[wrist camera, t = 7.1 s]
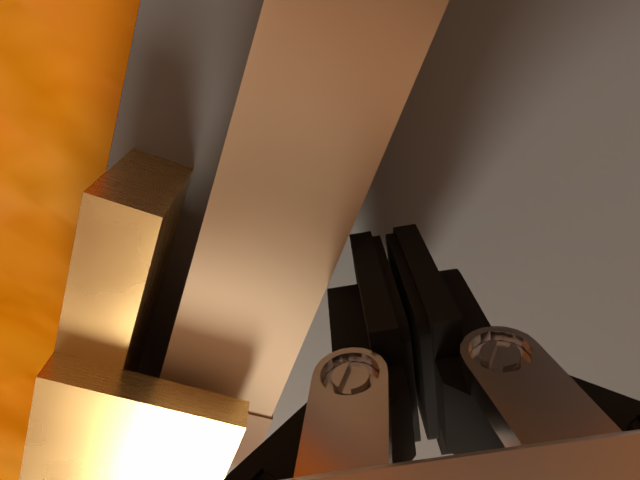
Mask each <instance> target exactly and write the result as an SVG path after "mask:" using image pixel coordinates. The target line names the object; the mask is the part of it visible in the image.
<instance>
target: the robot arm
mask: <svg viewBox="0 0 640 480" xmlns="http://www.w3.org/2000/svg"><path fill="white" fill-rule="evenodd" d="M349 236H350V243H351V249H352V256H353V262H354V269H355V275H356V282H357V284H354V285H348V286H341V287H335V288H329V289H327V295H328V308H329V320H330V332H331V344H332V353H330V354H328V355H327V356H325V357H324V358H322V359H321V360H320V361H319V363H318V364H317V365H316V366H315V369H314V371H313V374H312V378H311V384H310V389H309V395H308V400H307V403H305V404H304V405H303V406H302V407H301V408H300V409H299V410H298V411H297V412H296V413H295V414H293V415H292V416H291V417H290V418H289V419H288V420H287V421H286V422H285V423H284V424H282V425H281V426H280V427H279V428H278V429H277V430H276V431H275V432H274V433H273V434H272V435H270V436H269V437H268V438H267V439H266V440H265V441H264V442H263V443H262V444H261V445H259V446H258V447H257V448H256V449H255V450H254V451H253V452H252V453H251V454H250V455H249V456H247V457H246V458H245V459H244V460H243V461H242V462H241V463H240V464H239V465H238V466H236V467H235V468H234V469H233V470H232V471H231V472H230V473H229V474H228V475H227V476H226V477H225V479H224V480H640V401H639V400H636V399H633V398H631V397H628V396H625V395H622V394H620V393H617V392H614V391H612V390H609V389H606V388H603V387H601V386H598V385H595V384H592V383H590V382H587V381H584V380H582V379H579V378H576V377H573V376H571V375H568V374H567V373H566V372H565V370H564V369H563V368H562V367H561V366H560V365H559V364H558V363H557V362H556V361H555V360H554V359H553V358H552V357H551V356H550V355H549V354H548V353H547V352H546V351H545V349H544V348H543V347H542V346H541V345H540V344H539V343H538V342H537V341H536V340H535V339H533V338H532V337H531V336H529V335H528V334H526V333H524V332H522V331H520V330H517V329H513V328H509V327H504V326H491V325H490V323H489V321H488V320H487V318H486V316H485V314H484V313H483V311H482V309H481V307H480V306H479V304H478V302H477V300H476V299H475V297H474V295H473V294H472V292H471V290H470V288H469V287H468V285H467V283H466V281H465V280H464V278H463V276H462V274H461V273H460V271H459V270H458V269H449V270H443V271H439V270H438V268H437V266H436V264H435V262H434V260H433V258H432V256H431V254H430V252H429V250H428V248H427V246H426V244H425V242H424V240H423V238H422V236H421V234H420V232H419V230H418V228H417V226H416V224H411V225H405V226H398V227H393V233H391V234H386V246H387V254H388V258H387V255H386V252H385V249H384V246H383V243H382V240H381V237H380V235H378V236H372V234H371V231H368V232H362V233H355V234H349ZM418 408H419V412H420V415H421V419H422V422H423V426H424V430H425V433H426V436H427V439H428V440H432V439H437V442H438V445H439V448H440V452H441V455H446V454H454V455H448V456H441V457H434V458H427V459H420V460H413V459H414V457H415V456H416V447H415V442H418V441H421V434H420V424H419V414H418ZM412 460H413V461H412Z"/></svg>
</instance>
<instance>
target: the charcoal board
mask: <svg viewBox="0 0 640 480" xmlns="http://www.w3.org/2000/svg"><path fill="white" fill-rule="evenodd" d="M263 2H264V0H140V5H139V10H138V15H137V20H136V25H135V30H134V35H133V40H132V45H131V50H130V55H129V60H128V65H127V70H126V75H125V80H124V85H123V90H122V95H121V100H120V105H119V110H118V115H117V120H116V125H115V130H114V135H113V140H112V145H111V150H110V155H109V160H108V165H107V170H106V171H108V170H109V169H110V168H111V167H112V166H113V165H114V164H116V163H117V162H118V161H119V160H120V159H121V158H122V157H123V156H125V155H126V154H127V153H128V152H129V151H130V150H131V149H133V148H135V149H138V150H141V151H144V152H147V153H150V154H153V155H156V156H159V157H161V158H164V159H167V160H170V161H173V162H176V163H179V164H182V165H185V166H188V167H191V168H194V170H193V174H192V177H191V181H190V184H189V188H188V191H187V195H186V199H185V202H184V206H183V209H182V213H181V216H180V220H179V223H178V227H177V230H176V234H175V238H174V241H173V245H172V248H171V252H170V255H169V259H168V262H167V266H166V270H165V273H164V277H163V280H162V284H161V287H160V291H159V294H158V298H157V301H156V305H155V309H154V312H153V316H152V319H151V323H150V326H149V330H148V333H147V337H146V340H145V344H144V348H143V351H142V355H141V358H140V362H139V365H138V369H137V372H136V373H140V374H144V375H148V376H152V377H156V378H159V376H160V373H161V370H162V367H163V364H164V360H165V356H166V353H167V349H168V345H169V342H170V338H171V335H172V331H173V327H174V324H175V320H176V317H177V313H178V309H179V306H180V302H181V298H182V295H183V291H184V288H185V284H186V280H187V277H188V273H189V270H190V266H191V262H192V259H193V255H194V252H195V248H196V244H197V241H198V237H199V233H200V230H201V226H202V223H203V219H204V215H205V212H206V208H207V205H208V201H209V197H210V194H211V190H212V186H213V183H214V179H215V176H216V172H217V168H218V165H219V161H220V158H221V154H222V150H223V147H224V143H225V140H226V136H227V132H228V129H229V125H230V121H231V118H232V114H233V111H234V107H235V103H236V100H237V96H238V93H239V89H240V85H241V82H242V78H243V74H244V71H245V67H246V64H247V60H248V56H249V53H250V49H251V46H252V42H253V38H254V35H255V31H256V27H257V24H258V20H259V17H260V13H261V9H262V6H263ZM411 224H416V226H417V228H418V230H419V232H420V234H421V236H422V238H423V240H424V242H425V244H426V246H427V248H428V250H429V252H430V254H431V256H432V258H433V260H434V262H435V264H436V266H437V268H438V270H439V271H443V270H449V269H458V270H459V271H460V273H461V274H462V276H463V278H464V280H465V281H466V283H467V285H468V287H469V288H470V290H471V292H472V294H473V295H474V297H475V299H476V300H477V302H478V304H479V306H480V307H481V309H482V311H483V313H484V314H485V316H486V318H487V320H488V321H489V323H490V325H491V326H504V327H509V328H513V329H517V330H520V331H522V332H524V333H526V334H528V335H529V336H531V337H532V338H533V339H535V340H536V341H537V342H538V343H539V344H540V345H541V346H542V347H543V348H544V349H545V351H546V352H547V353H548V354H549V355H550V356H551V357H552V358H553V359H554V360H555V361H556V362H557V363H558V364H559V365H560V366H561V367H562V368H563V369H564V370H565V372H566V373H567V374H568V375H571V376H573V377H576V378H579V379H582V380H584V381H587V382H590V383H592V384H595V385H598V386H601V387H603V388H606V389H609V390H612V391H614V392H617V393H620V394H622V395H625V396H628V397H631V398H633V399H636V400H639V401H640V0H449V2H448V5H447V7H446V9H445V12H444V14H443V16H442V19H441V21H440V23H439V26H438V28H437V30H436V33H435V35H434V37H433V40H432V42H431V45H430V47H429V49H428V52H427V54H426V56H425V59H424V61H423V63H422V66H421V68H420V70H419V73H418V75H417V77H416V80H415V82H414V84H413V87H412V89H411V91H410V94H409V96H408V98H407V101H406V103H405V105H404V108H403V110H402V112H401V115H400V117H399V119H398V122H397V124H396V126H395V129H394V131H393V133H392V136H391V138H390V140H389V143H388V145H387V148H386V150H385V152H384V155H383V157H382V159H381V162H380V164H379V166H378V169H377V171H376V173H375V176H374V178H373V180H372V183H371V185H370V187H369V190H368V192H367V194H366V197H365V199H364V201H363V204H362V206H361V208H360V211H359V213H358V215H357V218H356V220H355V222H354V225H353V227H352V229H351V232H350V234H355V233H362V232H368V231H371V234H372V236H378V235H380V237H381V240H382V243H383V246H384V249H385V252H386V255H387V258H388V254H387V246H386V234H391V233H393V227H398V226H405V225H411ZM354 284H357V282H356V275H355V269H354V262H353V256H352V249H351V243H350V236H348V239H347V241H346V243H345V246H344V248H343V251H342V253H341V255H340V258H339V260H338V262H337V265H336V267H335V269H334V272H333V274H332V276H331V279H330V281H329V283H328V286H327V288H326V290H325V293H324V295H323V297H322V300H321V302H320V304H319V307H318V309H317V311H316V314H315V316H314V318H313V321H312V323H311V325H310V328H309V330H308V332H307V335H306V337H305V339H304V342H303V344H302V346H301V349H300V351H299V354H298V356H297V358H296V361H295V363H294V365H293V368H292V370H291V372H290V375H289V377H288V379H287V382H286V384H285V386H284V389H283V391H282V393H281V396H280V398H279V400H278V403H277V405H276V407H275V410H274V412H273V420H272V423H271V425H270V427H269V430H268V432H267V434H266V437H265V439H264V441H265V440H266V439H267V438H268V437H269V436H270V435H272V434H273V433H274V432H275V431H276V430H277V429H278V428H279V427H280V426H281V425H282V424H284V423H285V422H286V421H287V420H288V419H289V418H290V417H291V416H292V415H293V414H295V413H296V412H297V411H298V410H299V409H300V408H301V407H302V406H303V405H304V404H305V403H307V400H308V395H309V389H310V384H311V378H312V374H313V371H314V369H315V366H316V365H317V364H318V363H319V361H320V360H321V359H322V358H324V357H325V356H327V355H328V354H330V353H332V344H331V332H330V320H329V308H328V295H327V289H329V288H335V287H341V286H348V285H354ZM418 414H419V424H420V434H421V441H418V442H415V447H416V456H415V457H414V459H413V460H420V459H427V458H434V457H441V456H448V455H454V454H446V455H441V452H440V448H439V445H438V442H437V439H432V440H428V439H427V436H426V433H425V430H424V426H423V422H422V419H421V415H420V412H419V408H418ZM264 441H263V442H264ZM413 460H412V461H413ZM234 468H235V466H231V465H230V466H229V469H228V471H227V473H226V476H227V475H228V474H229V473H230V472H231V471H232V470H233V469H234ZM226 476H225V477H226ZM224 479H225V478H224Z"/></svg>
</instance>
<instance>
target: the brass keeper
mask: <svg viewBox="0 0 640 480" xmlns="http://www.w3.org/2000/svg"><path fill="white" fill-rule="evenodd" d="M193 170H194V168H191V167H188V166H185V165H182V164H179V163H176V162H173V161H170V160H167V159H164V158H161V157H159V156H156V155H153V154H150V153H147V152H144V151H141V150H138V149H135V148H133V149H131V150H130V151H129V152H128V153H127V154H126V155H125V156H123V157H122V158H121V159H120V160H119V161H118V162H117V163H116V164H114V165H113V166H112V167H111V168H110V169H109V170H108V171H106V172H105V173H104V174H103V175H102V176H101V177H100V178H99V179H97V180H96V181H95V182H94V183H93V184H92V185H91V186H90V187H88V188H87V189H86V190H85V191H84V192H83V195H82V201H81V206H80V212H79V217H78V223H77V228H76V234H75V239H74V245H73V250H72V256H71V261H70V267H69V272H68V278H67V283H66V289H65V294H64V300H63V305H62V311H61V316H60V322H59V327H58V333H57V338H56V344H55V349H54V352H53V354H52V355H51V357H50V358H49V360H48V361H47V362H46V364H45V365H44V367H43V368H42V370H41V371H40V372H39V374H38V375H37V377H36V382H35V388H34V394H33V400H32V406H31V412H30V418H29V424H28V430H27V436H26V442H25V448H24V454H23V460H22V466H21V472H20V478H19V480H224V478H225V476H226V473H227V471H228V469H229V466H230V464H231V462H232V460H233V457H234V455H235V453H236V450H237V448H238V446H239V444H240V441H241V439H242V437H243V434H244V432H245V430H246V426H247V418H248V411H249V403H250V401H246V400H242V399H238V398H234V397H230V396H226V395H222V394H219V393H215V392H211V391H207V390H203V389H199V388H195V387H191V386H187V385H183V384H179V383H175V382H171V381H168V380H164V379H160V378H156V377H152V376H148V375H144V374H140V373H136V372H137V369H138V365H139V362H140V358H141V355H142V351H143V348H144V344H145V340H146V337H147V333H148V330H149V326H150V323H151V319H152V316H153V312H154V309H155V305H156V301H157V298H158V294H159V291H160V287H161V284H162V280H163V277H164V273H165V270H166V266H167V262H168V259H169V255H170V252H171V248H172V245H173V241H174V238H175V234H176V230H177V227H178V223H179V220H180V216H181V213H182V209H183V206H184V202H185V199H186V195H187V191H188V188H189V184H190V181H191V177H192V174H193Z"/></svg>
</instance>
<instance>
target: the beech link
mask: <svg viewBox="0 0 640 480" xmlns="http://www.w3.org/2000/svg"><path fill="white" fill-rule="evenodd" d="M448 2H449V0H264V2H263V6H262V9H261V13H260V17H259V20H258V24H257V27H256V31H255V35H254V38H253V42H252V46H251V49H250V53H249V56H248V60H247V64H246V67H245V71H244V74H243V78H242V82H241V85H240V89H239V93H238V96H237V100H236V103H235V107H234V111H233V114H232V118H231V121H230V125H229V129H228V132H227V136H226V140H225V143H224V147H223V150H222V154H221V158H220V161H219V165H218V168H217V172H216V176H215V179H214V183H213V186H212V190H211V194H210V197H209V201H208V205H207V208H206V212H205V215H204V219H203V223H202V226H201V230H200V233H199V237H198V241H197V244H196V248H195V252H194V255H193V259H192V262H191V266H190V270H189V273H188V277H187V280H186V284H185V288H184V291H183V295H182V298H181V302H180V306H179V309H178V313H177V317H176V320H175V324H174V327H173V331H172V335H171V338H170V342H169V345H168V349H167V353H166V356H165V360H164V364H163V367H162V370H161V373H160V376H159V378H160V379H164V380H168V381H171V382H175V383H179V384H183V385H187V386H191V387H195V388H199V389H203V390H207V391H211V392H215V393H219V394H222V395H226V396H230V397H234V398H238V399H242V400H246V401H250V403H249V411H248V418H247V426H246V430H245V432H244V434H243V437H242V439H241V441H240V444H239V446H238V448H237V450H236V453H235V455H234V457H233V460H232V462H231V464H230V465H231V466H235V467H236V466H238V465H239V464H240V463H241V462H242V461H243V460H244V459H245V458H246V457H247V456H249V455H250V454H251V453H252V452H253V451H254V450H255V449H256V448H257V447H258V446H259V445H261V444H262V443H263V441H264V439H265V437H266V434H267V432H268V430H269V427H270V425H271V423H272V420H273V412H274V410H275V407H276V405H277V403H278V400H279V398H280V396H281V393H282V391H283V389H284V386H285V384H286V382H287V379H288V377H289V375H290V372H291V370H292V368H293V365H294V363H295V361H296V358H297V356H298V354H299V351H300V349H301V346H302V344H303V342H304V339H305V337H306V335H307V332H308V330H309V328H310V325H311V323H312V321H313V318H314V316H315V314H316V311H317V309H318V307H319V304H320V302H321V300H322V297H323V295H324V293H325V290H326V288H327V286H328V283H329V281H330V279H331V276H332V274H333V272H334V269H335V267H336V265H337V262H338V260H339V258H340V255H341V253H342V251H343V248H344V246H345V243H346V241H347V239H348V236H349V234H350V232H351V229H352V227H353V225H354V222H355V220H356V218H357V215H358V213H359V211H360V208H361V206H362V204H363V201H364V199H365V197H366V194H367V192H368V190H369V187H370V185H371V183H372V180H373V178H374V176H375V173H376V171H377V169H378V166H379V164H380V162H381V159H382V157H383V155H384V152H385V150H386V148H387V145H388V143H389V140H390V138H391V136H392V133H393V131H394V129H395V126H396V124H397V122H398V119H399V117H400V115H401V112H402V110H403V108H404V105H405V103H406V101H407V98H408V96H409V94H410V91H411V89H412V87H413V84H414V82H415V80H416V77H417V75H418V73H419V70H420V68H421V66H422V63H423V61H424V59H425V56H426V54H427V52H428V49H429V47H430V45H431V42H432V40H433V37H434V35H435V33H436V30H437V28H438V26H439V23H440V21H441V19H442V16H443V14H444V12H445V9H446V7H447V5H448Z"/></svg>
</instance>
